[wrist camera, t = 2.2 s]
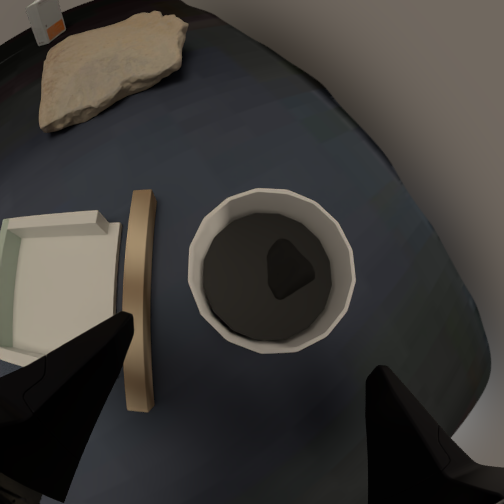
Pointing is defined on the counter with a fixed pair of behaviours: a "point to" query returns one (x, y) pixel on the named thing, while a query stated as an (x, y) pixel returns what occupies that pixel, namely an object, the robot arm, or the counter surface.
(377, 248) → the counter surface
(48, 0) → the skincare box
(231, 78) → the counter surface
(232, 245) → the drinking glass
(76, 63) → the beige flat stone slab
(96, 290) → the tray
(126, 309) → the oak rail
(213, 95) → the counter surface
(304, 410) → the counter surface
